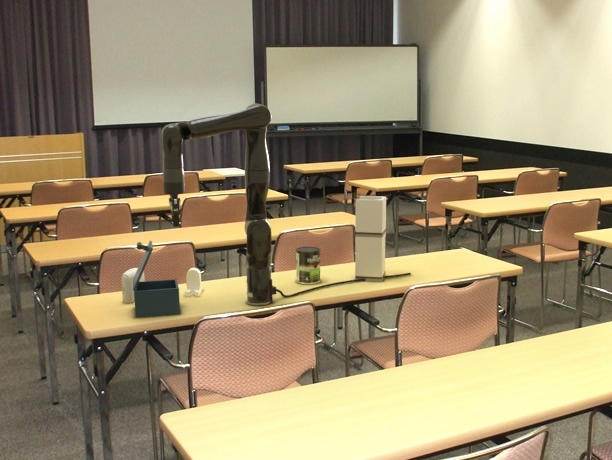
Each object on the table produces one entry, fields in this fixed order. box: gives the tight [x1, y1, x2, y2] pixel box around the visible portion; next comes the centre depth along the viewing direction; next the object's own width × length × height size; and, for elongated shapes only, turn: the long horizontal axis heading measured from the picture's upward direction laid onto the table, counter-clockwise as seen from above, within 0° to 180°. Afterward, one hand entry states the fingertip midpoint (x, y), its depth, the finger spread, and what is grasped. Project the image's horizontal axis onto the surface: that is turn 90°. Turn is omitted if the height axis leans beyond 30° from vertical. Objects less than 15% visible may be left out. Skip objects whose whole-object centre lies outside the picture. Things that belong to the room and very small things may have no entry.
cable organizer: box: [185, 267, 203, 298], centre depth 301 cm, size 5×10×10 cm, turn 4°
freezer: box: [134, 278, 181, 319], centre depth 278 cm, size 16×14×10 cm
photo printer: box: [120, 267, 146, 304], centre depth 292 cm, size 10×4×12 cm, turn 158°
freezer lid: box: [133, 240, 154, 291], centre depth 274 cm, size 16×14×5 cm
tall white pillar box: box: [354, 195, 387, 283], centre depth 323 cm, size 11×11×35 cm
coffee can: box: [295, 246, 321, 285], centre depth 319 cm, size 10×10×14 cm
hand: (175, 224), depth 275 cm, fingers open, 8 cm apart
